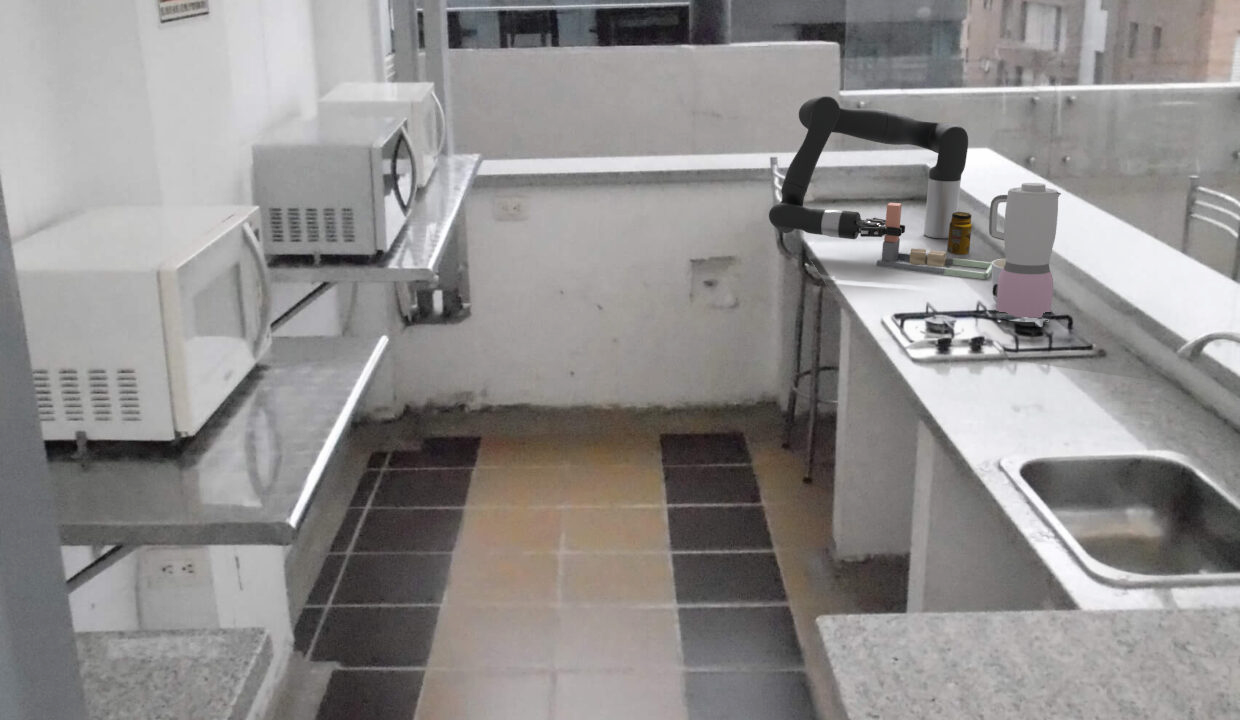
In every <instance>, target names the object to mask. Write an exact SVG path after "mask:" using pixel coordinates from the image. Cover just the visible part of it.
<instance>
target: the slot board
mask: <svg viewBox="0 0 1240 720" xmlns="http://www.w3.org/2000/svg"><path fill="white" fill-rule="evenodd" d="M954 258H955V257H947V256H946V259H945V267H939V266H930V265H927V259H928V254H926V259H925V265H922V264H913V263H909V262H910V252H903V251H899V254H898V260H897V261H888V260H882V259H877V261H876V267H879V268H880V267H881V268H889V269H895V270H896V269H897V270H904V271H914V272H921V273H930V274H940V275H945V274H944V271H945V268H950V269H951V267H952V266H953V259H954Z"/></svg>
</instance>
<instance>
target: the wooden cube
mask: <svg viewBox="0 0 1240 720" xmlns="http://www.w3.org/2000/svg"><path fill="white" fill-rule="evenodd" d="M909 253H910V262H909V263H913V264H922V265H925V259H926V255H927V249H926V248H925V249H924V248H910V252H909Z"/></svg>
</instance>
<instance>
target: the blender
mask: <svg viewBox="0 0 1240 720" xmlns="http://www.w3.org/2000/svg"><path fill="white" fill-rule="evenodd" d="M1061 195H1062V193H1061V192H1059V191H1058V190H1056V189H1053V188H1048V187H1046V184H1045V183H1041V182H1024V183H1023V182H1022V183H1021V186H1020V187H1019V186H1018V187H1012V188H1009V189H1008V191H1007V194H999V195H996V196H995V197H994V198H992V200H991V202H990V206H989V218H988V219H989V221H988V233H989V235H990V237H992V238H994V239H997V240H1001V241H1003V242H1004V251H1005V259H1006V263H1005V266H1004V269H1003V270H1002V272H1001V274H1000V275H999V281H998V284H995V285H994V287H993V286H992V296H993V295H994V296H996V297H997V303H996V310H995V312H996V311H999V312H1006V313H1008V314H1009V315H1013V316H1015V318H1020V317H1028V318H1038V319H1042V315H1043V313H1045V312H1051V313H1052V302H1053V293H1054V278H1053V273H1052V271H1051V269H1050V260H1051V255H1052V253H1053V248H1054V244H1055V239H1056V235H1057V227H1058V226H1057V225H1058V215H1059V197H1060V196H1061ZM1000 203H1006V204H1005V212H1004V213H1005V214H1004V225H1003V232H1002V231H998V229H997V228H998V227H997V225H998V224H997V223H998V209H999V208H998V207H999V205H1000ZM1045 321H1048V320H1045Z"/></svg>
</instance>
